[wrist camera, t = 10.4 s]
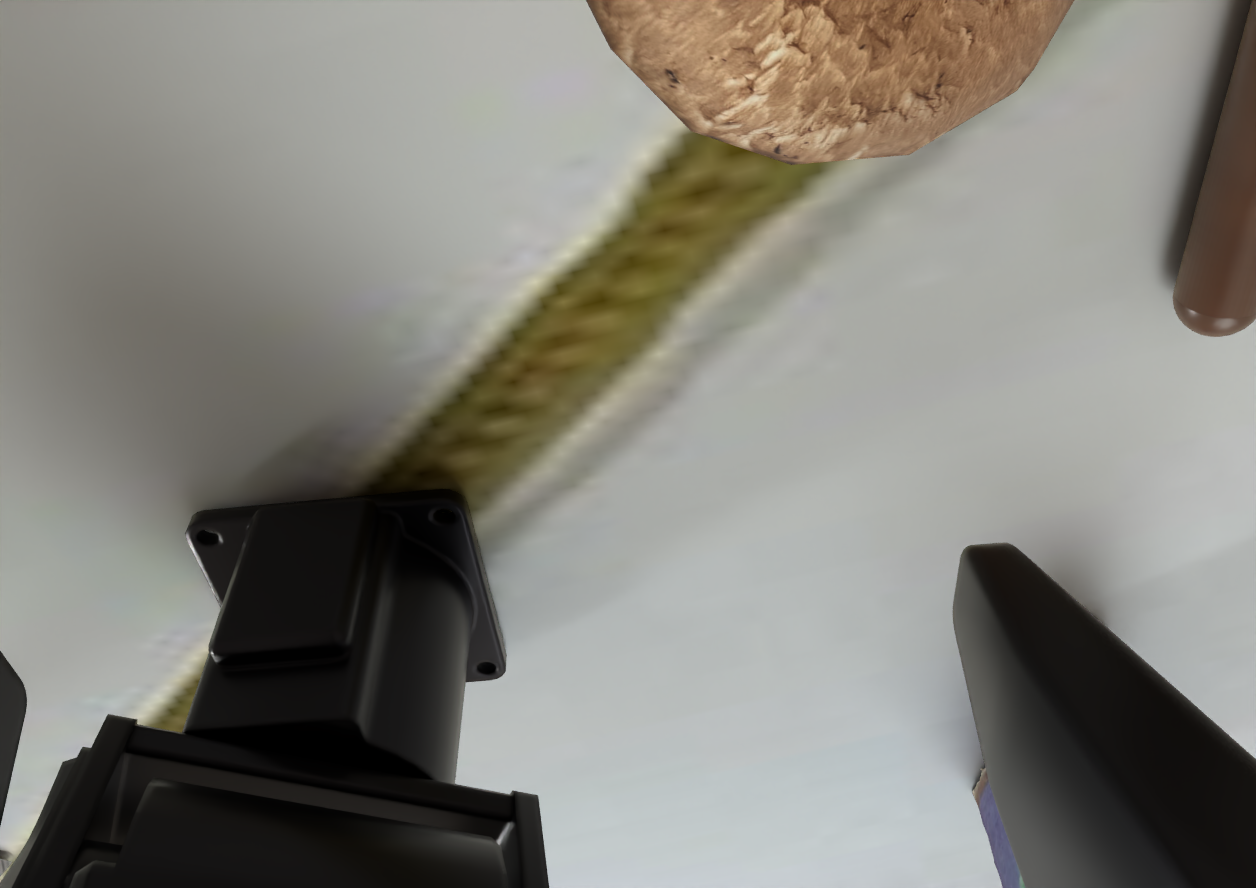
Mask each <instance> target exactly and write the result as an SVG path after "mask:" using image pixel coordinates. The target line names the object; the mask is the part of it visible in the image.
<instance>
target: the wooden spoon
mask: <svg viewBox="0 0 1256 888" xmlns="http://www.w3.org/2000/svg"><path fill="white" fill-rule="evenodd" d="M1173 304H1174V309H1175V311H1176V314H1177V316H1178V317H1179V319H1180V320H1181V321H1182V323H1183V324H1184V325H1185V326H1187V327H1188V328H1189V329H1191V330H1192V331H1194V332H1196V333H1199V334H1201V335H1205V336H1211V337H1220V336H1227V335H1231V334H1234V333H1237V332H1239V331H1241V330H1243V329H1245V328H1246V327H1247V326H1249V325H1250V324H1251V323H1252V322H1253V321H1254V320H1255V319H1256V0H1252V2H1251V5H1250V9H1249V13H1248V16H1247V20H1246V24H1245V28H1244V31H1243V35H1242V39H1241V42H1240V46H1239V50H1238V54H1237V57H1236V61H1235V65H1234V68H1233V72H1232V76H1231V80H1230V83H1229V87H1228V91H1227V94H1226V98H1225V102H1224V105H1223V109H1222V113H1221V117H1220V120H1219V124H1218V128H1217V131H1216V135H1215V139H1214V143H1213V146H1212V150H1211V154H1210V157H1209V161H1208V165H1207V168H1206V172H1205V176H1204V180H1203V183H1202V187H1201V191H1200V194H1199V198H1198V202H1197V206H1196V209H1195V213H1194V217H1193V220H1192V224H1191V228H1190V231H1189V235H1188V239H1187V243H1186V246H1185V250H1184V254H1183V257H1182V261H1181V265H1180V269H1179V272H1178V276H1177V280H1176V283H1175V287H1174V293H1173Z"/></svg>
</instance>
